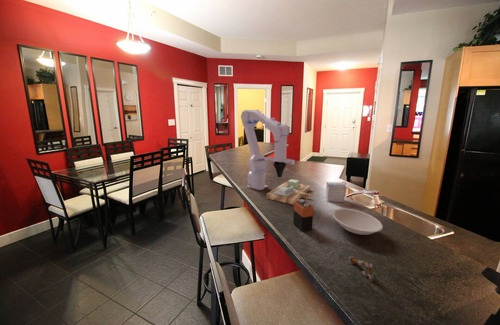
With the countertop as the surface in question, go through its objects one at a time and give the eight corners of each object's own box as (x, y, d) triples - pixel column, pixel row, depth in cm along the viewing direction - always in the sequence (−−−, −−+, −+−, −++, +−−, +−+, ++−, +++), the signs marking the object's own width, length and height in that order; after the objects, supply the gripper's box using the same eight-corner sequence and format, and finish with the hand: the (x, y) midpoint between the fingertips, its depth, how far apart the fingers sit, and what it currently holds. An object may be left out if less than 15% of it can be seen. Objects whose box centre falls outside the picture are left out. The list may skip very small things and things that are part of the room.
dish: (322, 223, 86) (323, 211, 84) (351, 217, 90) (352, 206, 89) (358, 249, 69) (360, 235, 68) (391, 240, 74) (393, 227, 73)
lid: (273, 193, 109) (273, 188, 108) (282, 188, 117) (282, 183, 117) (287, 197, 105) (287, 191, 104) (295, 190, 113) (295, 186, 113)
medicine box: (341, 199, 110) (343, 182, 108) (344, 202, 105) (346, 185, 103) (325, 198, 111) (326, 181, 109) (327, 201, 106) (328, 184, 104)
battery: (302, 221, 87) (303, 197, 85) (312, 229, 81) (314, 204, 79) (292, 223, 86) (293, 199, 83) (302, 232, 79) (303, 206, 77)
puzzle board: (266, 198, 111) (266, 193, 110) (286, 185, 130) (286, 181, 129) (302, 206, 101) (302, 201, 100) (317, 191, 120) (318, 187, 119)
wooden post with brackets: (371, 282, 55) (368, 263, 56) (351, 273, 63) (348, 256, 63) (377, 281, 55) (374, 262, 56) (357, 272, 63) (354, 255, 64)
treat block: (287, 191, 120) (287, 181, 118) (290, 189, 123) (291, 179, 122) (295, 193, 117) (295, 182, 116) (298, 190, 121) (298, 180, 120)
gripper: (263, 149, 109) (263, 176, 112) (291, 152, 101) (289, 181, 104) (270, 147, 114) (269, 173, 117) (296, 150, 107) (295, 177, 110)
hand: (279, 176), depth 111 cm, fingers closed
